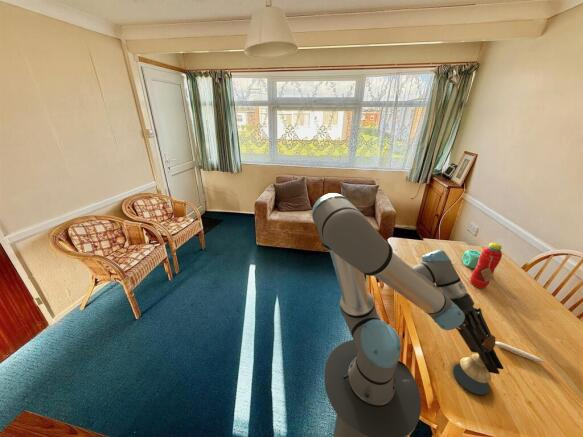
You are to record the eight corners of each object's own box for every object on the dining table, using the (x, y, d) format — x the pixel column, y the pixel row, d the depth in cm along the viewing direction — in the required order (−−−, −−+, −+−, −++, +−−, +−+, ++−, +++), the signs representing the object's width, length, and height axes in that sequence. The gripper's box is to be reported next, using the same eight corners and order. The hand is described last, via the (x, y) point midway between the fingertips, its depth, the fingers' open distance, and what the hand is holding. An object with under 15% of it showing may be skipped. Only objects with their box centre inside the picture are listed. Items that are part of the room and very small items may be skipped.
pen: (544, 366, 82) (546, 363, 81) (494, 345, 89) (496, 342, 88) (543, 362, 83) (545, 359, 82) (494, 342, 90) (495, 339, 89)
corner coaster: (472, 399, 72) (473, 398, 72) (445, 368, 81) (446, 367, 81) (496, 390, 75) (496, 389, 74) (467, 361, 83) (468, 360, 83)
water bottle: (487, 296, 112) (508, 254, 101) (467, 289, 117) (485, 248, 106) (487, 283, 121) (506, 243, 110) (469, 277, 125) (485, 238, 114)
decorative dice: (474, 261, 138) (479, 250, 134) (482, 269, 131) (488, 258, 127) (460, 260, 139) (464, 249, 135) (467, 268, 132) (472, 256, 128)
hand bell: (455, 366, 76) (472, 334, 70) (465, 353, 81) (482, 321, 74) (485, 389, 70) (507, 356, 64) (494, 372, 75) (515, 340, 68)
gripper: (454, 303, 69) (499, 387, 64) (478, 286, 76) (520, 359, 70) (432, 305, 76) (471, 380, 70) (456, 288, 82) (493, 356, 77)
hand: (496, 370), depth 70 cm, fingers closed on hand bell, 2 cm apart
